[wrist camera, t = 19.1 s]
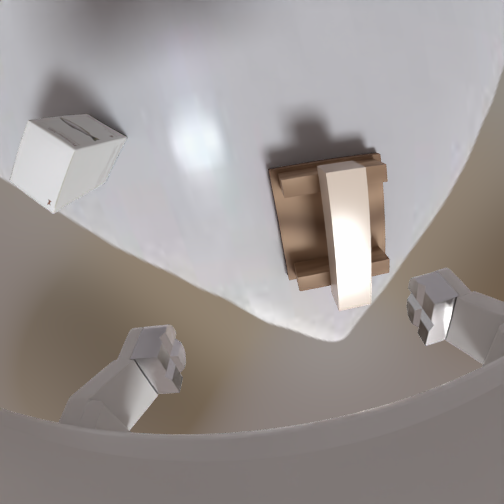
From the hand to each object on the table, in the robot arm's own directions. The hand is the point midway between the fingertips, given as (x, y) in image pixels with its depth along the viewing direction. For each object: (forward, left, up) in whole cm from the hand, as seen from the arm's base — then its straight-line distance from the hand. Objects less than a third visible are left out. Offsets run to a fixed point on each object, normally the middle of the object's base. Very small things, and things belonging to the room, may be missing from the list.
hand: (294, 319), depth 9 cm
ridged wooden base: (+8, +8, -28) cm, 30 cm away
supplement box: (-8, -20, -28) cm, 36 cm away
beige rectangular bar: (+8, +8, -23) cm, 26 cm away
